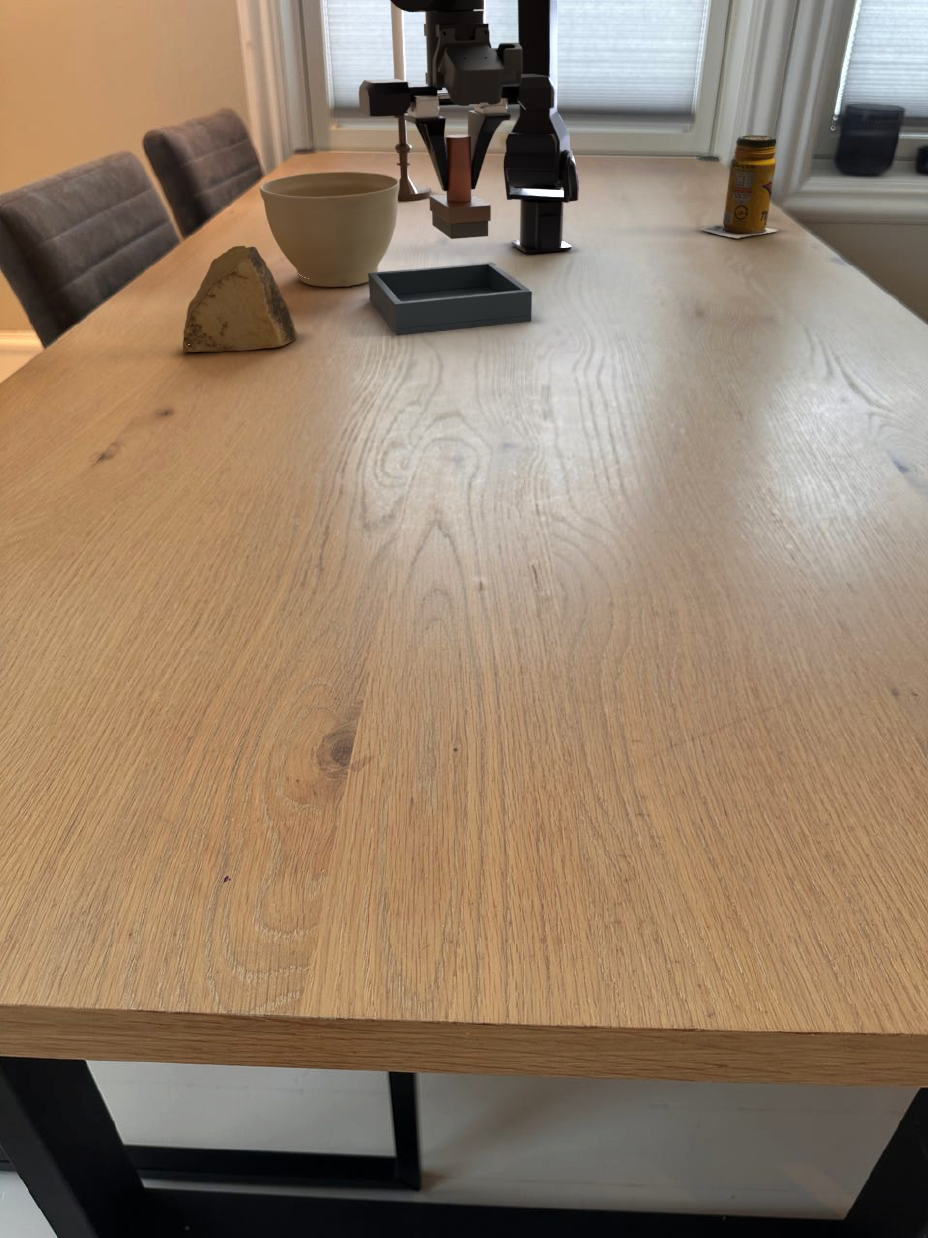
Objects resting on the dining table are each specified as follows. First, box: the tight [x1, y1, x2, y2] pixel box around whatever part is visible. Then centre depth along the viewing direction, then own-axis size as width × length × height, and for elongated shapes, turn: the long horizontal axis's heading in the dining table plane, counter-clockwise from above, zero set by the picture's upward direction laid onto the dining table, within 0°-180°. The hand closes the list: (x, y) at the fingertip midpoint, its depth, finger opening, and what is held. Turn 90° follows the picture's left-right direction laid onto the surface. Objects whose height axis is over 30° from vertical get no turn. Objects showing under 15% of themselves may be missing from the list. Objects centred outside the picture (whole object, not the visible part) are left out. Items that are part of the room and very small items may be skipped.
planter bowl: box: [259, 171, 400, 288], centre depth 113 cm, size 16×16×11 cm
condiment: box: [699, 134, 779, 239], centre depth 131 cm, size 7×8×12 cm
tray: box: [368, 261, 533, 336], centre depth 102 cm, size 14×15×3 cm
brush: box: [428, 134, 492, 240], centre depth 98 cm, size 8×4×9 cm, turn 16°
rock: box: [182, 245, 299, 353], centre depth 93 cm, size 11×9×10 cm
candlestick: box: [390, 1, 433, 202], centre depth 153 cm, size 11×11×35 cm
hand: (458, 189), depth 98 cm, fingers closed on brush, 2 cm apart
